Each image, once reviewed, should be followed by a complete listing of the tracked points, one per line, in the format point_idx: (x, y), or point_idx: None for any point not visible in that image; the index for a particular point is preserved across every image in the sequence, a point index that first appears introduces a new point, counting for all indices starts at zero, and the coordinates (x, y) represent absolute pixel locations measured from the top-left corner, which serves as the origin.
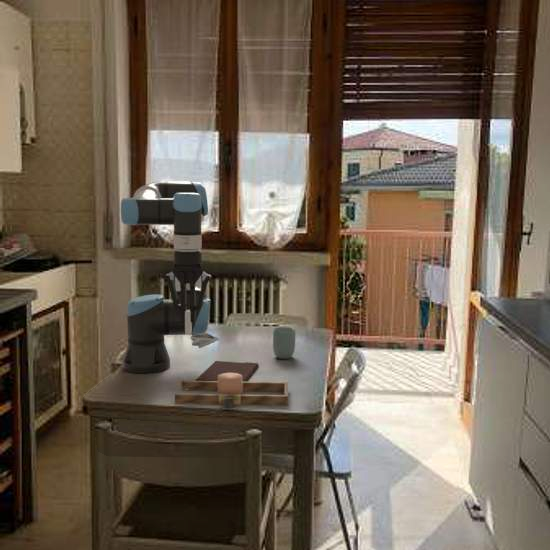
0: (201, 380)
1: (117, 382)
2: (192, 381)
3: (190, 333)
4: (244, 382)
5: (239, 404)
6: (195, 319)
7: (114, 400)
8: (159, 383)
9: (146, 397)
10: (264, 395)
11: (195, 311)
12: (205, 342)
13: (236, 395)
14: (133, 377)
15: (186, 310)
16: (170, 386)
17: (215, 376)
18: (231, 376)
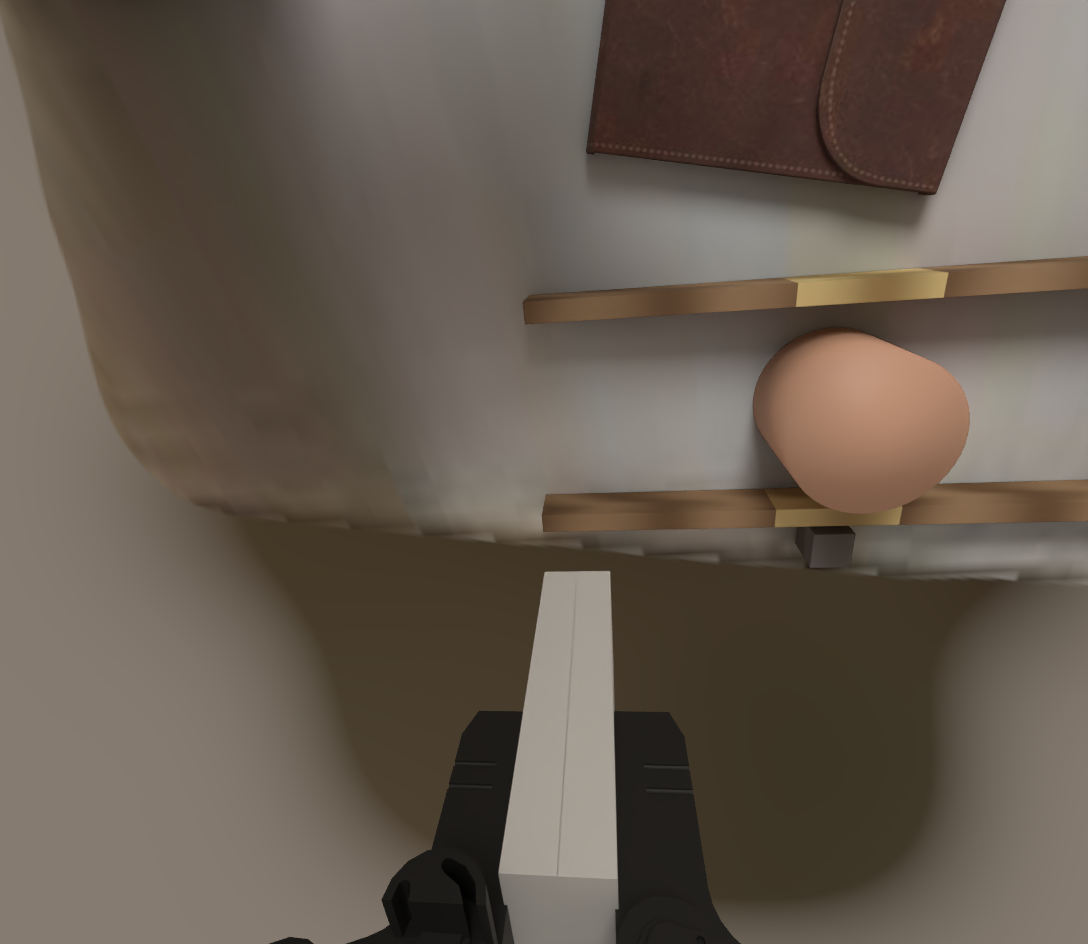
0: (629, 153)
1: (123, 222)
2: (593, 311)
3: (613, 672)
4: (954, 291)
5: None
6: (684, 747)
7: (265, 491)
8: (366, 207)
9: (388, 443)
10: (1044, 512)
11: (707, 887)
12: None
13: (875, 522)
14: (154, 99)
15: (518, 914)
16: (450, 257)
17: (728, 61)
18: (886, 435)
